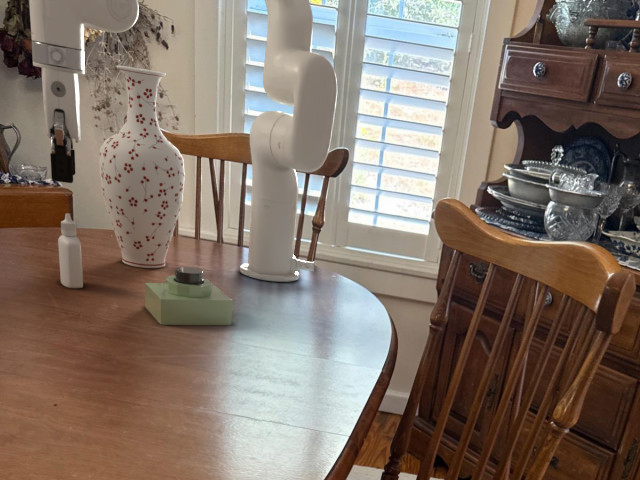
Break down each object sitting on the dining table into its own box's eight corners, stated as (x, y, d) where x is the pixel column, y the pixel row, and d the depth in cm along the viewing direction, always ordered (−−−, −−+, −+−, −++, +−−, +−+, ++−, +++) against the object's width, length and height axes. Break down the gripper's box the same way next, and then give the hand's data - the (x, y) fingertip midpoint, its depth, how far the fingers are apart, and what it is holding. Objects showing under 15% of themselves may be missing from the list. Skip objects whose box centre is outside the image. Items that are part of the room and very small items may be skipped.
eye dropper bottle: (88, 282, 141) (85, 213, 135) (81, 290, 136) (77, 218, 130) (63, 279, 140) (58, 209, 134) (54, 286, 135) (49, 214, 129)
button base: (213, 308, 139) (214, 274, 136) (231, 325, 132) (233, 289, 129) (145, 307, 133) (144, 271, 130) (160, 324, 126) (160, 287, 123)
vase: (172, 277, 154) (173, 75, 136) (90, 264, 153) (81, 59, 135) (192, 261, 168) (195, 77, 150) (117, 250, 167) (112, 62, 149)
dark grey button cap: (197, 280, 132) (198, 267, 131) (205, 287, 129) (206, 274, 128) (172, 279, 130) (172, 266, 129) (179, 286, 127) (179, 273, 126)
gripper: (82, 65, 115) (86, 188, 123) (85, 63, 129) (89, 174, 137) (27, 55, 113) (35, 181, 121) (36, 54, 127) (43, 168, 135)
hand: (64, 177), depth 129 cm, fingers open, 9 cm apart
